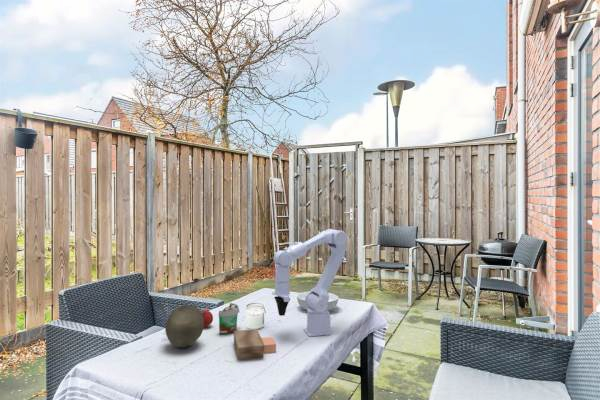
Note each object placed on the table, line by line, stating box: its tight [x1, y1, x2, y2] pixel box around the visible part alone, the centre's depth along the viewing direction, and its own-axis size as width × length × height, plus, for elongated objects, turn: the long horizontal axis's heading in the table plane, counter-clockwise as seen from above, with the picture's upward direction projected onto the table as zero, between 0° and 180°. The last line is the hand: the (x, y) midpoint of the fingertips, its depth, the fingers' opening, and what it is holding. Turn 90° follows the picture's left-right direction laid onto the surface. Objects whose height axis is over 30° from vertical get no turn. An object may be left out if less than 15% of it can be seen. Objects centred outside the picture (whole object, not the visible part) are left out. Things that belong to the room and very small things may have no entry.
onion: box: [201, 308, 214, 328], centre depth 154 cm, size 6×6×8 cm
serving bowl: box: [296, 290, 339, 312], centre depth 183 cm, size 21×21×7 cm
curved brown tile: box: [233, 328, 265, 360], centre depth 131 cm, size 9×16×5 cm, turn 16°
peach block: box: [261, 336, 277, 355], centre depth 132 cm, size 10×7×3 cm
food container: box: [218, 302, 240, 336], centre depth 150 cm, size 12×6×10 cm, turn 168°
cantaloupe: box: [164, 304, 205, 348], centre depth 134 cm, size 14×14×15 cm
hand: (281, 315), depth 144 cm, fingers closed
